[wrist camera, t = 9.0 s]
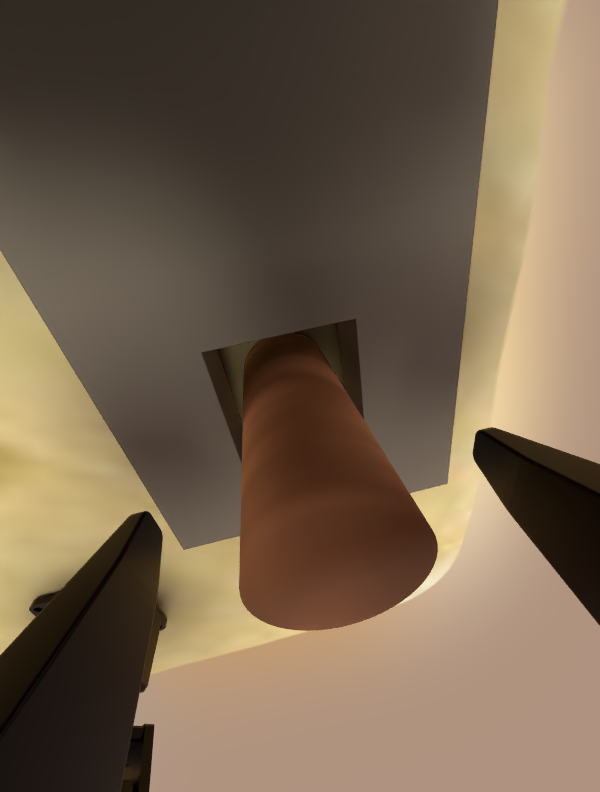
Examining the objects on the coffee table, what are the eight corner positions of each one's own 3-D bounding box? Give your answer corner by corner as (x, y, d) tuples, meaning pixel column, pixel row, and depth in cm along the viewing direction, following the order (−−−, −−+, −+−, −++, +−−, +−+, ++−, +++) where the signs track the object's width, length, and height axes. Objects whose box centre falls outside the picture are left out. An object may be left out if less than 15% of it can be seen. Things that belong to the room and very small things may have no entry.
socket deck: (192, 503, 18) (183, 549, 15) (-148, -155, 7) (-394, -395, 4) (418, 447, 18) (447, 483, 16) (443, -230, 7) (548, -476, 5)
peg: (255, 415, 16) (266, 647, 7) (233, 342, 14) (209, 540, 5) (330, 397, 16) (432, 602, 7) (319, 323, 14) (443, 481, 5)
